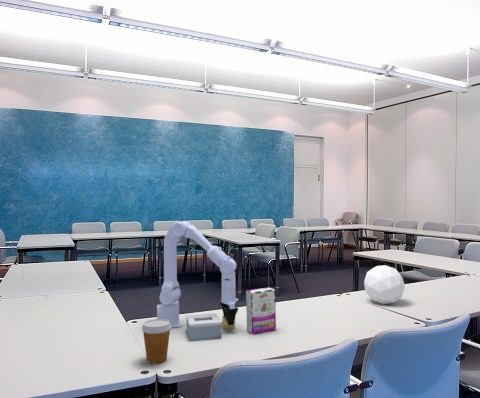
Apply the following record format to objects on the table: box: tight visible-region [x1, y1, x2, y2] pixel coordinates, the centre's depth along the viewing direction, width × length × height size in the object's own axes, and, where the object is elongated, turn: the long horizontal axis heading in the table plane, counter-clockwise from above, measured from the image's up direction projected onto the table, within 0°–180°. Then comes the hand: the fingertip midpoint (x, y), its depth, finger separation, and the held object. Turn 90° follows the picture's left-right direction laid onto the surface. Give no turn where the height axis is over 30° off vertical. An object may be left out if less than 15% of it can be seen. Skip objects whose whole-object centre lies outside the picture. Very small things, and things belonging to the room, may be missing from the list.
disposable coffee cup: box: [141, 318, 173, 364], centre depth 125 cm, size 10×10×12 cm
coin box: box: [186, 313, 222, 342], centre depth 149 cm, size 12×12×6 cm
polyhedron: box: [363, 264, 406, 305], centre depth 196 cm, size 19×20×20 cm
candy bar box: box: [245, 287, 277, 335], centre depth 154 cm, size 11×5×16 cm, turn 117°
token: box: [221, 315, 236, 330], centre depth 157 cm, size 5×2×5 cm, turn 103°
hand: (228, 322), depth 157 cm, fingers open, 7 cm apart
